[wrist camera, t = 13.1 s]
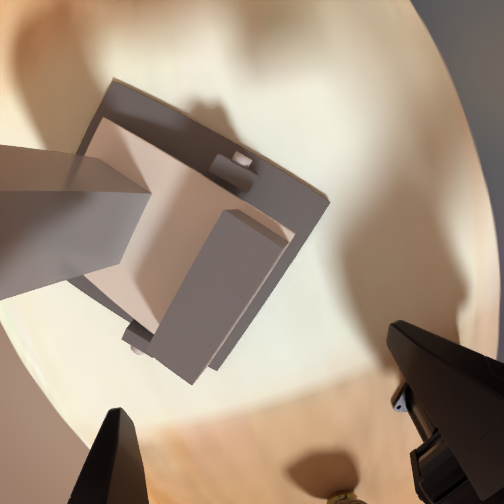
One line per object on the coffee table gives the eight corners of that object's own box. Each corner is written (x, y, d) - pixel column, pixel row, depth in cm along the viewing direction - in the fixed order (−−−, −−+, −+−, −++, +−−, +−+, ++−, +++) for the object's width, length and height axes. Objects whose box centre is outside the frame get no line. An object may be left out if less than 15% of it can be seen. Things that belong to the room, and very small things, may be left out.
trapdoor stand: (329, 201, 20) (344, 209, 17) (217, 368, 24) (210, 400, 20) (115, 82, 19) (88, 68, 15) (41, 258, 22) (11, 273, 18)
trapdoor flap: (295, 233, 17) (289, 238, 14) (206, 367, 19) (188, 390, 16) (107, 118, 19) (78, 109, 16) (55, 242, 21) (26, 247, 18)
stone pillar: (151, 193, 18) (-60, 192, 5) (119, 264, 19) (-66, 322, 7) (98, 158, 19) (-84, 138, 6) (71, 223, 20) (-97, 247, 7)
